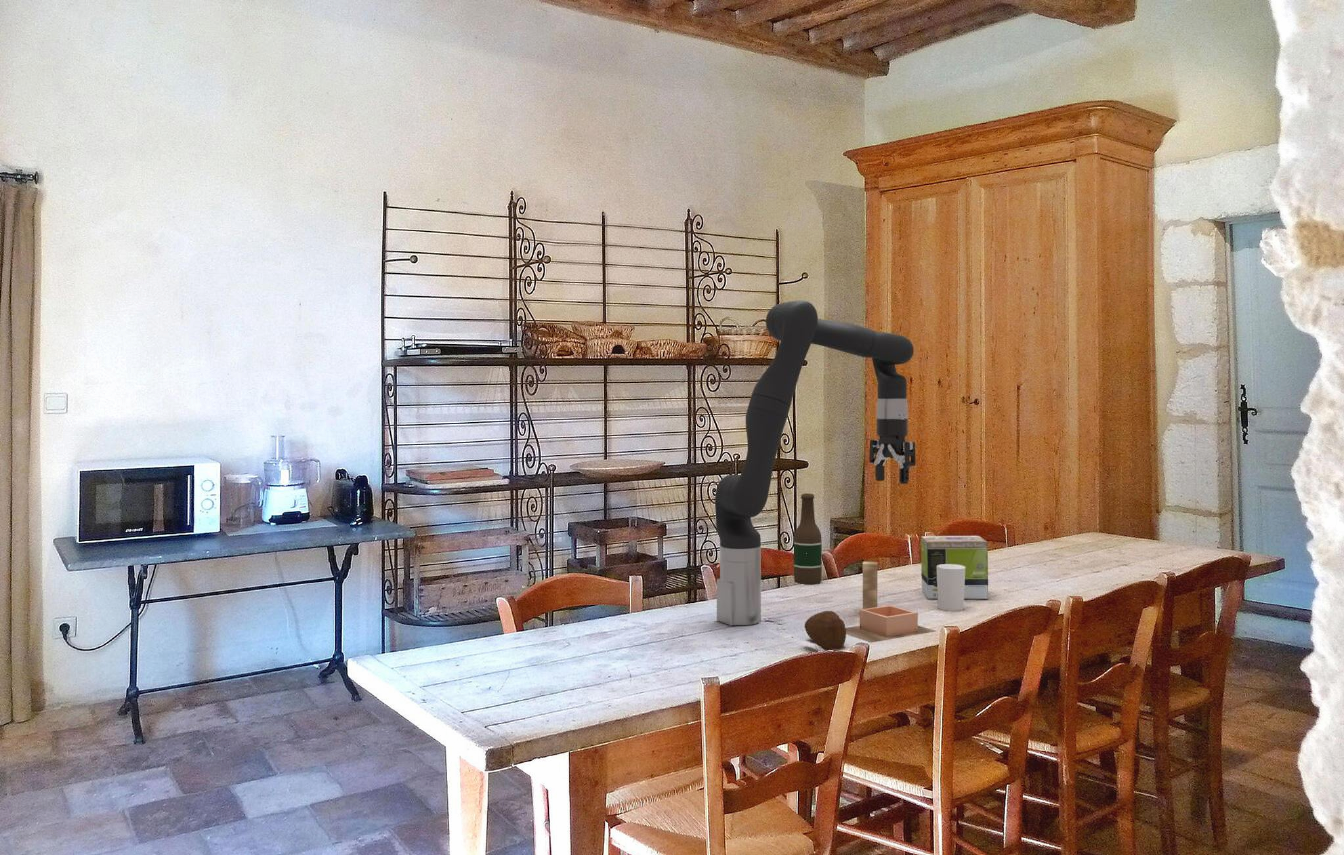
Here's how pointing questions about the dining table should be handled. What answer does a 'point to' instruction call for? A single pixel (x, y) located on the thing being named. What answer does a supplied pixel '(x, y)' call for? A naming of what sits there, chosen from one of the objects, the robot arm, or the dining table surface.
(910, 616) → the pink open tray
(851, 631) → the board
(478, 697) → the dining table surface
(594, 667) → the dining table surface
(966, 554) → the tea box
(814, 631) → the potato
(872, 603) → the tan cylinder
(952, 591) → the white upright cylinder
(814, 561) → the beer bottle
